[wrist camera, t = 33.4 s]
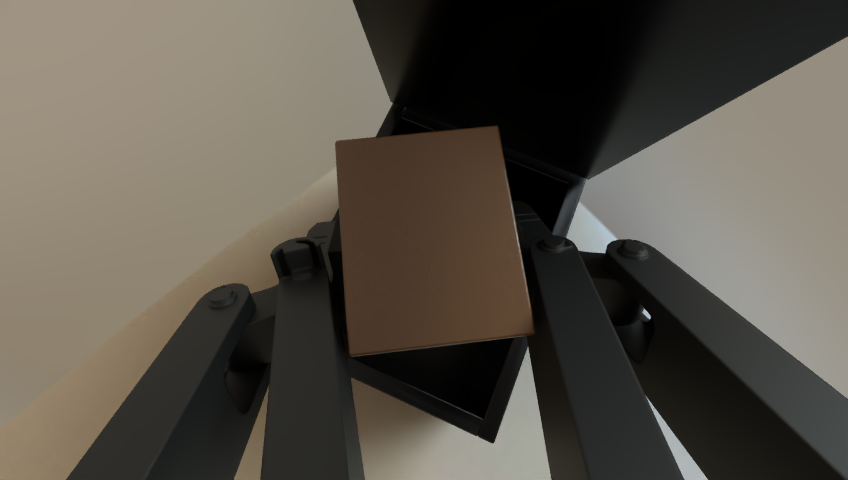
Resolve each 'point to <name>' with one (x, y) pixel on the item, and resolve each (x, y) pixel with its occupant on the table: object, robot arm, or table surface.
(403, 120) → the black box
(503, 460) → the table surface
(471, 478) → the table surface
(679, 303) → the robot arm
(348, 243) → the tall brown wooden bar
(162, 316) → the table surface
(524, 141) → the box lid
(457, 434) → the table surface
